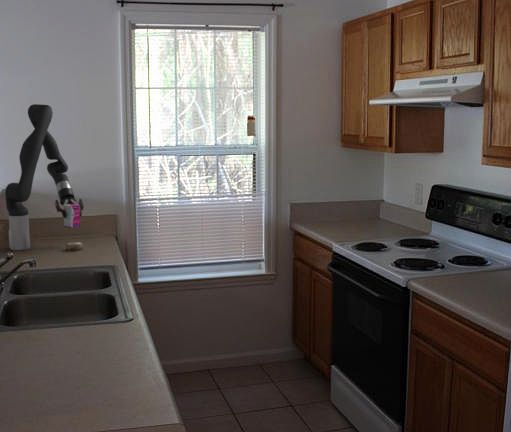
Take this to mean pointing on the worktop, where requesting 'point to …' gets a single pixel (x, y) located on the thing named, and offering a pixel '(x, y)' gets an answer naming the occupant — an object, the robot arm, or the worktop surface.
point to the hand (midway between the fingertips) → (73, 216)
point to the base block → (74, 246)
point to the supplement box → (72, 216)
